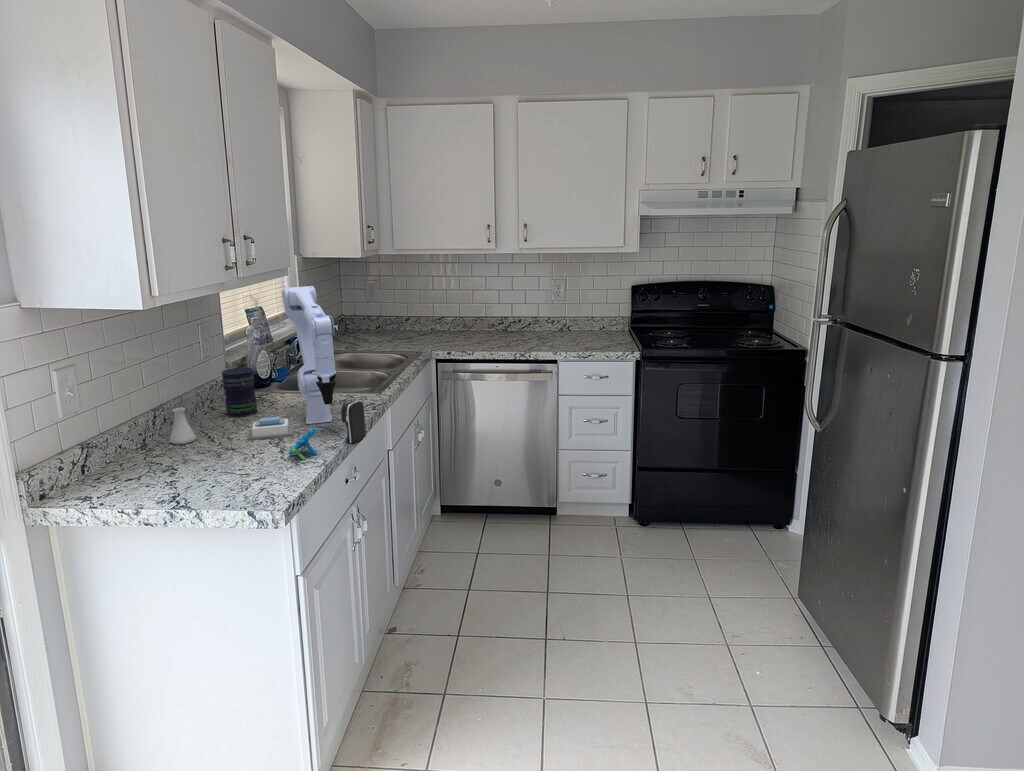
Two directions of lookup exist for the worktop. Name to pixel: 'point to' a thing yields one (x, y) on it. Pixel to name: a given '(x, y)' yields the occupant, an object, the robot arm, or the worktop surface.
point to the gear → (303, 444)
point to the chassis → (271, 431)
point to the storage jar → (239, 392)
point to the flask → (181, 428)
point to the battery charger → (354, 420)
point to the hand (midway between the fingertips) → (328, 401)
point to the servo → (270, 421)
